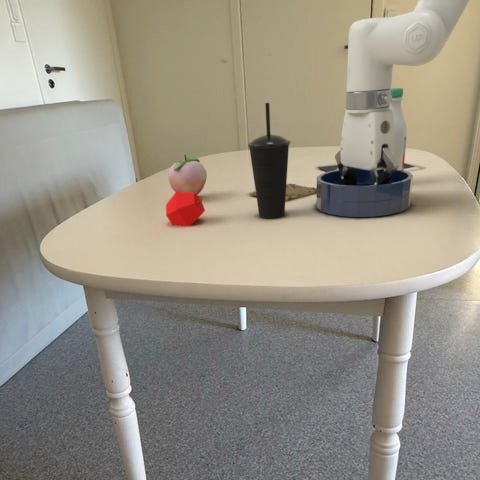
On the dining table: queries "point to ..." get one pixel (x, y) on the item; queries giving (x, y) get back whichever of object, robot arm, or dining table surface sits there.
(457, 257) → the dining table surface
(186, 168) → the decorative fruit
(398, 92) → the milk bottle
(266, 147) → the drinking cup
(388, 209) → the bowl
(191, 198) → the red faceted polyhedron
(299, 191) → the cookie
